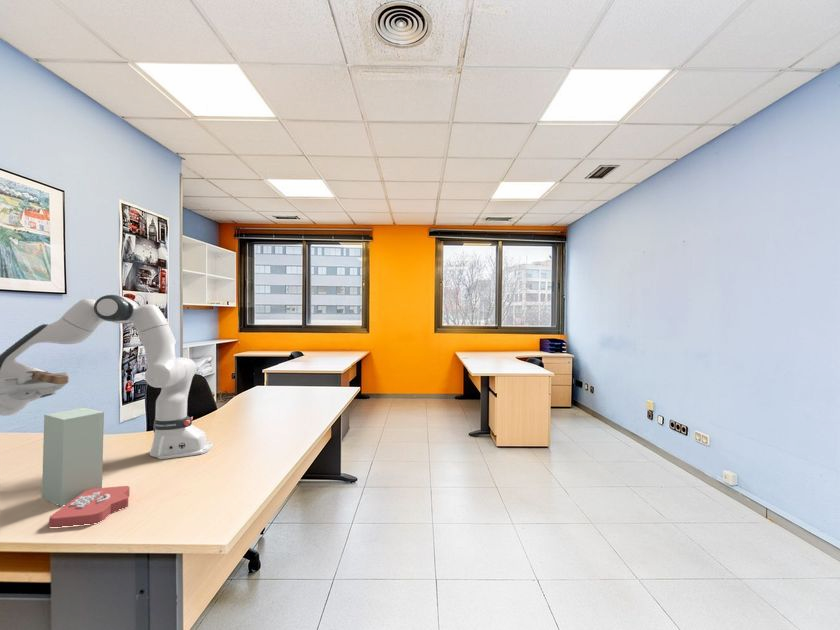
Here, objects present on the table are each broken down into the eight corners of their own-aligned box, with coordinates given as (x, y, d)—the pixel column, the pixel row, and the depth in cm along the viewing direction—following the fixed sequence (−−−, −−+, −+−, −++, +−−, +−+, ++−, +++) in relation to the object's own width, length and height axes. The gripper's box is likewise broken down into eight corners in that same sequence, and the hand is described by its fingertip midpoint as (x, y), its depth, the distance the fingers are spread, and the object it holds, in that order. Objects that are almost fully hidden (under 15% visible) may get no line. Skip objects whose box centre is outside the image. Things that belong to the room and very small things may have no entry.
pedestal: (41, 498, 114) (44, 414, 114) (82, 485, 123) (84, 407, 123) (61, 507, 109) (63, 419, 109) (101, 492, 118) (103, 412, 118)
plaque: (111, 510, 102) (45, 517, 98) (111, 524, 101) (45, 531, 98) (142, 482, 119) (87, 487, 115) (142, 494, 119) (87, 499, 115)
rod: (26, 378, 128) (26, 371, 128) (35, 377, 130) (36, 370, 130) (58, 384, 119) (58, 377, 119) (67, 383, 121) (67, 376, 121)
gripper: (-24, 387, 123) (-8, 369, 118) (56, 378, 141) (73, 362, 136) (-21, 404, 121) (-4, 387, 117) (60, 393, 140) (77, 378, 135)
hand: (38, 374), depth 127 cm, fingers closed on rod, 2 cm apart
